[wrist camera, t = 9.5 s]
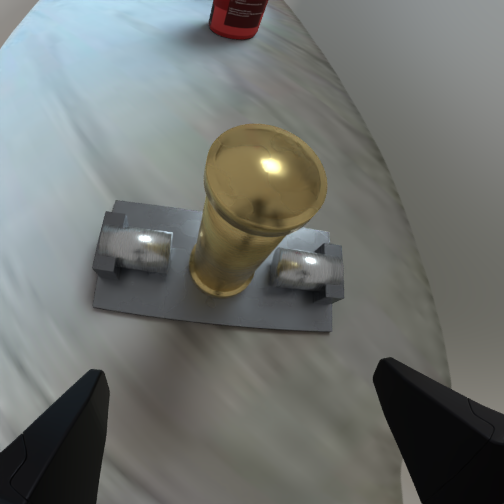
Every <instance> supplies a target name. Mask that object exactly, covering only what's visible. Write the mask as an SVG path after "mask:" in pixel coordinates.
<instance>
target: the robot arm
mask: <svg viewBox="0 0 504 504" xmlns="http://www.w3.org/2000/svg"><path fill="white" fill-rule="evenodd" d="M373 383H374V386H375V389H376V392H377V395H378V398H379V401H380V404H381V407H382V410H383V413H384V416H385V418H386V420H387V423H388V425H389V427H390V429H391V432H392V434H393V436H394V438H395V441H396V443H397V445H398V448H399V450H400V452H401V455H402V457H403V459H404V462H405V464H406V466H407V469H408V471H409V473H410V476H411V478H412V481H413V483H414V486H415V488H416V491H417V493H418V496H419V498H420V501H421V503H422V504H504V414H502V413H499V412H497V411H495V410H492V409H490V408H488V407H485V406H483V405H481V404H479V403H477V402H475V401H473V400H471V399H469V398H467V397H465V396H463V395H461V394H459V393H458V392H455V391H454V390H452V389H450V388H448V387H446V386H444V385H442V384H440V383H438V382H437V381H435V380H433V379H431V378H429V377H427V376H425V375H423V374H421V373H420V372H418V371H416V370H414V369H412V368H410V367H408V366H407V365H405V364H403V363H401V362H399V361H397V360H396V359H394V358H391V357H388V358H383V359H381V360H380V361H379V363H378V365H377V368H376V370H375V372H374V375H373ZM109 397H110V391H109V386H108V383H107V380H106V376H105V373H104V372H103V371H102V370H97V369H90V370H89V371H88V372H87V373H86V374H84V375H83V376H82V377H81V378H80V379H79V380H78V381H77V382H76V383H75V384H74V385H73V386H71V387H70V388H69V389H68V390H67V391H66V392H65V393H64V394H63V395H62V396H61V397H60V398H59V399H57V400H56V401H55V402H54V403H53V404H52V405H51V406H50V407H49V408H48V409H47V410H46V411H45V412H44V413H43V414H41V415H40V416H39V417H38V418H37V419H36V420H35V421H34V422H33V423H32V424H31V425H30V426H29V427H28V428H27V429H26V430H25V431H24V432H23V434H20V435H19V436H18V437H17V438H16V439H15V440H14V441H13V442H12V443H11V444H10V445H9V446H7V447H6V448H5V449H4V450H3V451H2V452H0V504H96V501H97V493H98V485H99V478H100V471H101V465H102V459H103V453H104V447H105V441H106V433H107V420H108V407H109Z"/></svg>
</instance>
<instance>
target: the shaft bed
mask: <svg viewBox="0 0 504 504" xmlns="http://www.w3.org/2000/svg"><path fill="white" fill-rule="evenodd" d="M202 214H203V212H201V211H194V210H187V209H180V208H173V207H165V206H158V205H150V204H142V203H134V202H126V201H118V200H116V201H115V204H114V208H113V212H107V211H106V213H105V216H104V220H103V224H102V228H101V232H100V236H99V240H98V244H97V248H96V253H95V257H94V262H93V267H92V269H93V270H94V271H95V272H96V274H97V275H98V278H97V283H96V289H95V295H94V301H93V307H94V308H100V309H106V310H112V311H118V312H124V313H130V314H137V315H143V316H150V317H158V318H165V319H173V320H181V321H189V322H198V323H207V324H217V325H227V326H238V327H250V328H264V329H279V330H296V331H319V332H332V303H334V302H337V301H339V300H341V299H344V280H343V274H344V267H343V260H342V246H341V245H335V244H330V239H329V232H325V231H320V230H314V229H308V228H301V229H299V230H297V231H296V232H294V233H291V234H289V235H287V236H286V237H285V238H284V239H283V240H282V241H281V242H280V244H279V245H278V246H277V247H276V248H275V249H274V250H273V252H272V253H271V254H270V255H269V256H268V257H267V258H266V259H265V261H264V262H263V263H262V264H261V265H260V266H259V267H258V269H257V270H256V271H255V273H254V276H253V279H252V281H251V282H250V284H249V285H248V286H247V287H246V288H245V289H244V290H243V291H242V292H241V293H239V294H238V295H236V296H234V297H230V298H225V299H219V298H214V297H210V296H208V295H206V294H204V293H203V292H201V291H200V290H199V289H198V288H197V287H196V286H195V284H194V283H193V281H192V279H191V276H190V273H189V260H190V255H191V252H192V249H193V247H194V246H195V244H196V243H197V239H198V234H199V229H200V224H201V219H202Z"/></svg>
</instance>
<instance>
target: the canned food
mask: <svg viewBox="0 0 504 504" xmlns="http://www.w3.org/2000/svg"><path fill="white" fill-rule="evenodd" d="M267 3H268V0H213V4H212V9H211V14H210V19H209V26H210V29H211V30H212V31H213V32H214V33H216V34H218V35H220V36H223V37H226V38H230V39H249V38H252V37H253V36H254V35H255V34H256V33H257V31H258V28H259V25H260V22H261V20H262V17H263V14H264V11H265V8H266V5H267Z"/></svg>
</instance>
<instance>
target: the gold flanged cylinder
mask: <svg viewBox="0 0 504 504" xmlns="http://www.w3.org/2000/svg"><path fill="white" fill-rule="evenodd" d="M204 188H205V192H206V200H205V204H204V209H203V214H202V219H201V224H200V229H199V234H198V239H197V243H196V244H195V246H194V247H193V249H192V252H191V255H190V260H189V273H190V276H191V279H192V281H193V283H194V284H195V286H196V287H197V288H198V289H199V290H200V291H201V292H203V293H204V294H206V295H208V296H210V297H214V298H219V299H225V298H230V297H234V296H236V295H238V294H239V293H241V292H242V291H243V290H244V289H245V288H246V287H247V286H248V285H249V284H250V282H251V281H252V279H253V276H254V273H255V271H256V270H257V269H258V267H259V266H260V265H261V264H262V263H263V262H264V261H265V259H266V258H267V257H268V256H269V255H270V254H271V253H272V252H273V250H274V249H275V248H276V247H277V246H278V245H279V244H280V242H281V241H282V240H283V239H284V238H285V237H286V236H287V235H289V234H291V233H294V232H296V231H297V230H299V229H301V228H302V227H303V226H304V225H306V224H307V222H308V221H309V220H310V219H311V218H312V217H313V216H314V215H315V214H316V213H317V212H318V210H319V209H320V208H321V206H322V205H323V203H324V200H325V198H326V193H327V178H326V174H325V171H324V168H323V165H322V163H321V162H320V160H319V158H318V157H317V155H316V154H315V153H314V151H313V150H312V149H311V148H310V147H309V146H308V145H307V144H306V143H305V142H304V141H302V140H301V139H300V138H298V137H297V136H295V135H294V134H292V133H290V132H288V131H286V130H283V129H281V128H278V127H275V126H270V125H265V124H245V125H240V126H237V127H234V128H231V129H229V130H227V131H226V132H224V133H223V134H221V135H220V136H219V137H218V138H217V139H216V140H215V141H214V143H213V144H212V146H211V148H210V150H209V153H208V156H207V161H206V166H205V171H204Z"/></svg>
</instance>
